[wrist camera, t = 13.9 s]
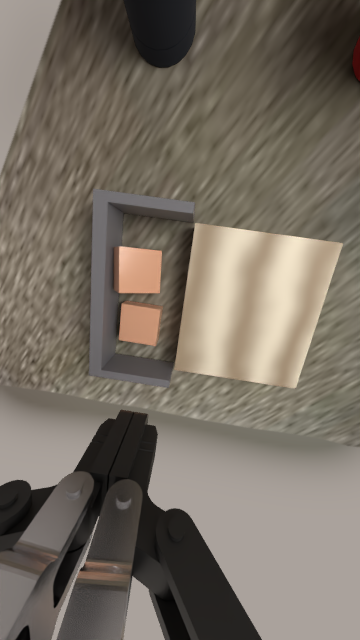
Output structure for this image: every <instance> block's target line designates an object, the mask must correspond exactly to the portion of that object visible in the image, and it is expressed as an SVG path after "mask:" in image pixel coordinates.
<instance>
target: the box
mask: <svg viewBox="0 0 360 640" xmlns="http://www.w3.org/2000/svg"><path fill="white" fill-rule="evenodd" d="M124 213H127V214H134V215H141V216H149V217H156V218H163V219H170V220H178V221H185V222H192V223H193V222H194V215H195V202H188V201H180V200H173V199H165V198H158V197H151V196H143V195H136V194H128V193H121V192H114V191H106V190H99V189H93V222H92V266H91V311H90V356H89V375H90V376H97V377H103V378H110V379H116V380H122V381H129V382H135V383H141V384H148V385H154V386H160V387H167V388H169V385H170V380H171V375H172V370H173V363H174V362H168V361H161V360H155V359H148V358H142V357H135V356H129V355H122V354H116V353H115V351H116V334H117V316H118V299H119V293H118V292H116V291H115V290H114V247H118V246H120V247H122V231H123V214H124Z"/></svg>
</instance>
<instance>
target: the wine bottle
mask: <svg viewBox="0 0 360 640" xmlns="http://www.w3.org/2000/svg"><path fill="white" fill-rule="evenodd" d="M124 3H125V7H126V11H127V15H128V18H129V22H130V26H131V30H132V33H133V37H134V41H135V44H136V47H137V49H138V51H139V52H140V54H141V56H142V57H143V58H144V59H145V60H146V61H147V62H149V63H150V64H152V65H154V66H157V67H170V66H172V65H174V64H176V63H178V62H179V61H180V60H181V59H182V58H183V57H184V56H185V55H186V54H187V52H188V50H189V49H190V47H191V45H192V42H193V38H194V35H195V24H196V0H124Z"/></svg>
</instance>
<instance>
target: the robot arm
mask: <svg viewBox="0 0 360 640" xmlns="http://www.w3.org/2000/svg"><path fill="white" fill-rule="evenodd" d="M147 423H148V414H145V413H138V412H131V411H126V410H120V412H119V414H118V416H117V418H116V419H108V420H106V421H105V422H104V423H103V424H101V426H100V427H99V429H98V431H97V432H96V435H95V436H94V437H93V439H92V442H91V443H90V445H89V446H88V448H87V450H86V451H85V453H84V455H83V457H82V458H81V460H80V462H79V463H78V465H77V467H76V469H75V470H74V472H73V473H71V474H69V475H67V476H66V477H64V478H63V479H62V480H61V481H60V482H59V483H58V485H55V486H52V487H48V488H42V489H36V490H31V487H30V485H29V483H27V482H26V481H23V480H15V481H11V482H8V483H6V484H4V485H2V486H0V640H51V639H52V635H53V632H54V629H55V625H56V621H57V618H58V615H59V612H60V610H61V607H62V605H63V603H64V600H65V598H66V596H67V593H68V591H69V589H70V587H71V584H72V582H73V580H74V577H75V575H76V573H77V571H78V568H79V566H80V564H81V562H82V559H83V557H84V555H85V552H86V550H87V548H88V546H89V543H90V541H91V538H92V532H93V529H94V526H95V524H96V521H97V518H98V516H100V517H99V520H98V524H97V527H96V530H95V533H94V536H93V539H92V543H91V546H90V549H89V552H88V555H87V559H86V562H85V564H84V566H83V567H82V568H81V569H80V571H79V574H78V576H77V579H76V581H75V585H74V587H73V590H72V593H71V597H70V600H69V603H68V606H67V609H66V612H65V615H64V618H63V621H62V625H61V628H60V631H59V634H58V637H57V640H123V638H124V631H125V623H126V616H127V609H128V603H129V596H130V589H131V582H132V576H133V577H135V578H136V579H137V580H138V581H140V582H141V583H142V584H143V585H145V586H146V587H147V588H148V589H149V593H150V597H151V600H152V603H153V606H154V608H155V612H156V614H157V617H158V620H159V623H160V626H161V629H162V632H163V635H164V638H165V640H262V639H261V637H260V636H259V634H258V632H257V630H256V629H255V627H254V625H253V624H252V622H251V620H250V618H249V617H248V615H247V613H246V612H245V610H244V608H243V606H242V605H241V603H240V601H239V600H238V598H237V596H236V594H235V593H234V591H233V589H232V588H231V586H230V584H229V582H228V581H227V579H226V577H225V575H224V574H223V572H222V570H221V568H220V567H219V565H218V563H217V562H216V560H215V558H214V556H213V555H212V553H211V551H210V550H209V548H208V546H207V545H206V543H205V541H204V539H203V538H202V536H201V534H200V533H199V531H198V529H197V527H196V526H195V524H194V522H193V520H192V519H191V518H190V516H189V515H188V514H187V513H186V512H184V511H183V510H180V509H169V510H168V511H166V512H165V511H164V510H162V509H160V508H159V507H157V506H156V505H155V504H154V503H153V502H152V501H151V500H150V498H149V496H148V493H147V491H148V486H149V482H150V477H151V472H152V467H153V462H154V457H155V450H156V443H157V435H158V434H157V430H156V427H155V426H152V425H147Z"/></svg>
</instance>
